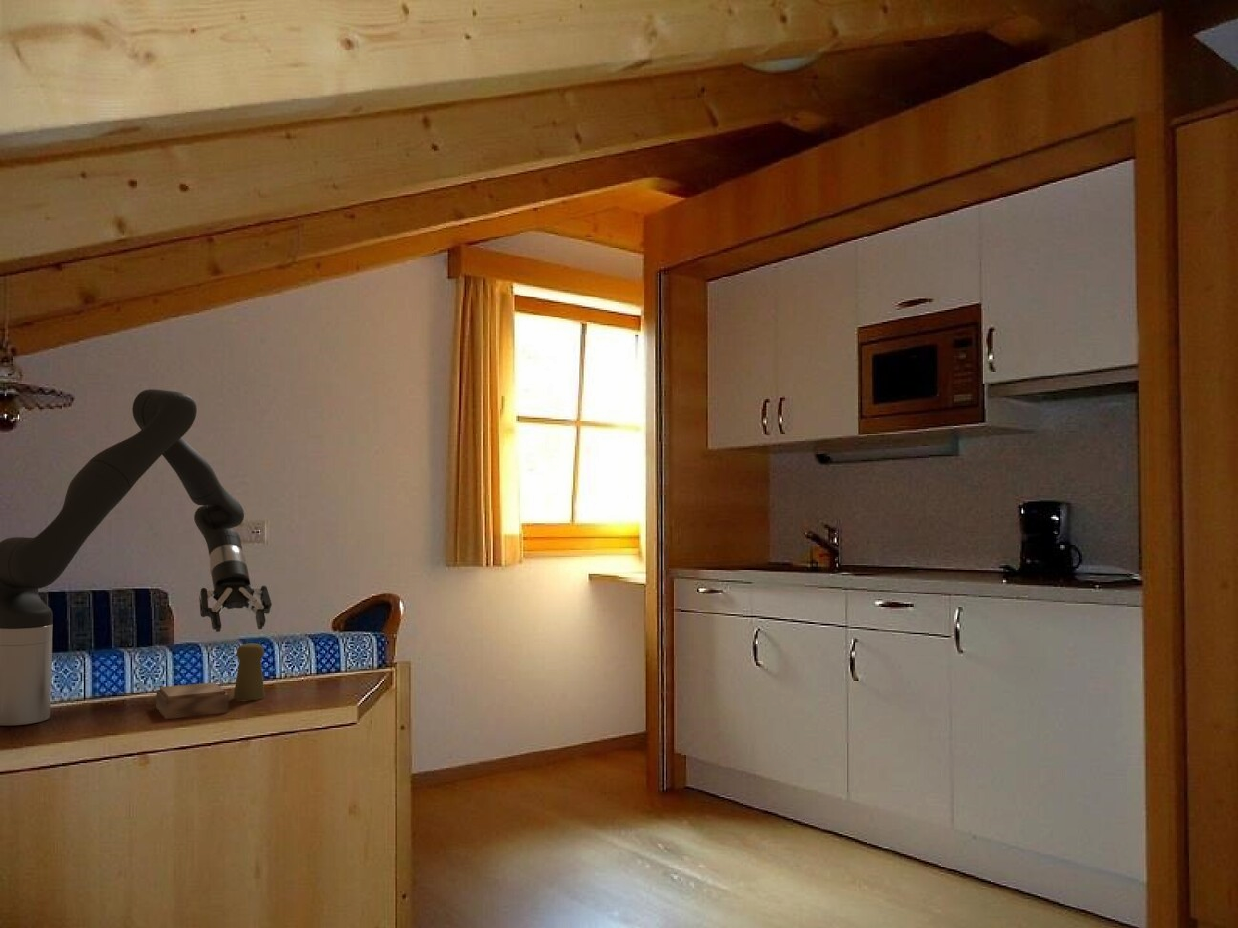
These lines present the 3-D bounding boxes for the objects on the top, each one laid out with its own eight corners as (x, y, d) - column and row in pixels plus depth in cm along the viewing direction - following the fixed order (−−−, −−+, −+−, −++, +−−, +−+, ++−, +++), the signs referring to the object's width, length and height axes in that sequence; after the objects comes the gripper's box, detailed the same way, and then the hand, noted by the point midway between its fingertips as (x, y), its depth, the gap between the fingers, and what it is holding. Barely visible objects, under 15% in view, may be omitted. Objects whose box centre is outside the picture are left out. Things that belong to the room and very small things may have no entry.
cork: (258, 701, 200) (259, 646, 200) (228, 700, 200) (229, 645, 200) (269, 695, 206) (270, 641, 206) (240, 694, 206) (241, 641, 206)
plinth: (165, 718, 184) (166, 697, 184) (156, 707, 193) (156, 686, 193) (228, 712, 190) (228, 691, 190) (216, 701, 199) (216, 681, 199)
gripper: (197, 559, 215) (207, 619, 205) (265, 558, 223) (278, 615, 213) (192, 582, 219) (201, 641, 209) (259, 579, 227) (271, 636, 217)
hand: (240, 628), depth 211 cm, fingers open, 8 cm apart
